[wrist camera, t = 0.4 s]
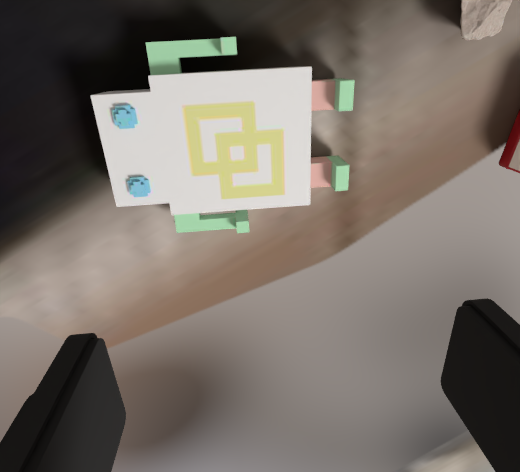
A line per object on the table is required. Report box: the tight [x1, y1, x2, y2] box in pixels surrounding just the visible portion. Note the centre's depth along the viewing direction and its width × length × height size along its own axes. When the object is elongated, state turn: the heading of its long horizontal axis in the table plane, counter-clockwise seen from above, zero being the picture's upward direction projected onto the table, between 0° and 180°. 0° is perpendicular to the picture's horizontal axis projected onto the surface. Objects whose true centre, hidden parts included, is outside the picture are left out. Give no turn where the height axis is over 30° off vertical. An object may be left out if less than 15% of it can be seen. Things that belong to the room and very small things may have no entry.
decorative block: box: [90, 37, 354, 233], centre depth 40 cm, size 26×6×20 cm
